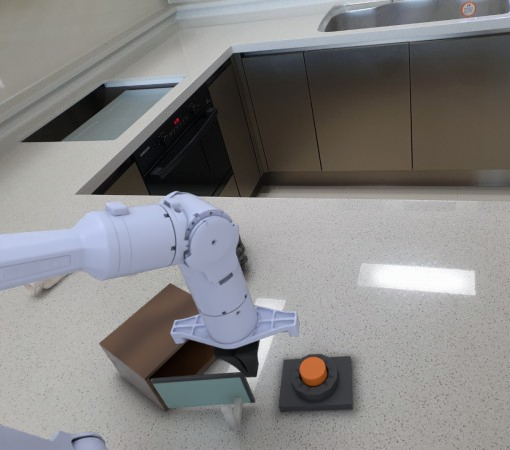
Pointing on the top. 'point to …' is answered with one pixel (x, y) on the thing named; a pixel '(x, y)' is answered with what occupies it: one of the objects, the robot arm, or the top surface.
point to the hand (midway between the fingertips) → (252, 370)
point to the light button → (313, 371)
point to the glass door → (207, 393)
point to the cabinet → (157, 343)
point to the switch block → (317, 397)
